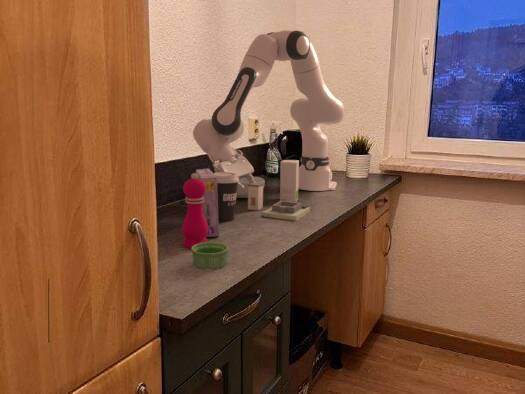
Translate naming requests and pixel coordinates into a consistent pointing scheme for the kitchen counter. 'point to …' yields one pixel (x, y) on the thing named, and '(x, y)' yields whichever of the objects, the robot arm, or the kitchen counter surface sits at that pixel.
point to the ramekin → (209, 255)
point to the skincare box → (289, 180)
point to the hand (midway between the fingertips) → (248, 187)
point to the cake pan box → (210, 201)
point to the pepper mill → (194, 212)
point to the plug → (255, 196)
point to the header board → (287, 210)
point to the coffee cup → (226, 195)
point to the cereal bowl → (245, 182)
